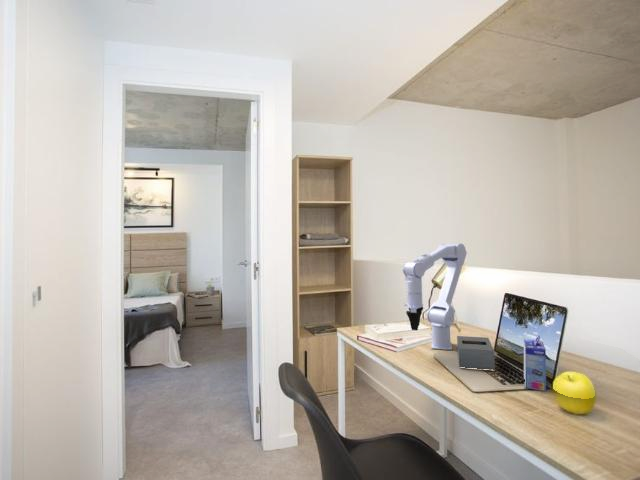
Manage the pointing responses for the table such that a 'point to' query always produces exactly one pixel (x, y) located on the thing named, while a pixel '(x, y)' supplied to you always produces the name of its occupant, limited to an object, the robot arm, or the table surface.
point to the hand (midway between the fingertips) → (415, 327)
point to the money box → (475, 352)
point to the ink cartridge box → (535, 364)
